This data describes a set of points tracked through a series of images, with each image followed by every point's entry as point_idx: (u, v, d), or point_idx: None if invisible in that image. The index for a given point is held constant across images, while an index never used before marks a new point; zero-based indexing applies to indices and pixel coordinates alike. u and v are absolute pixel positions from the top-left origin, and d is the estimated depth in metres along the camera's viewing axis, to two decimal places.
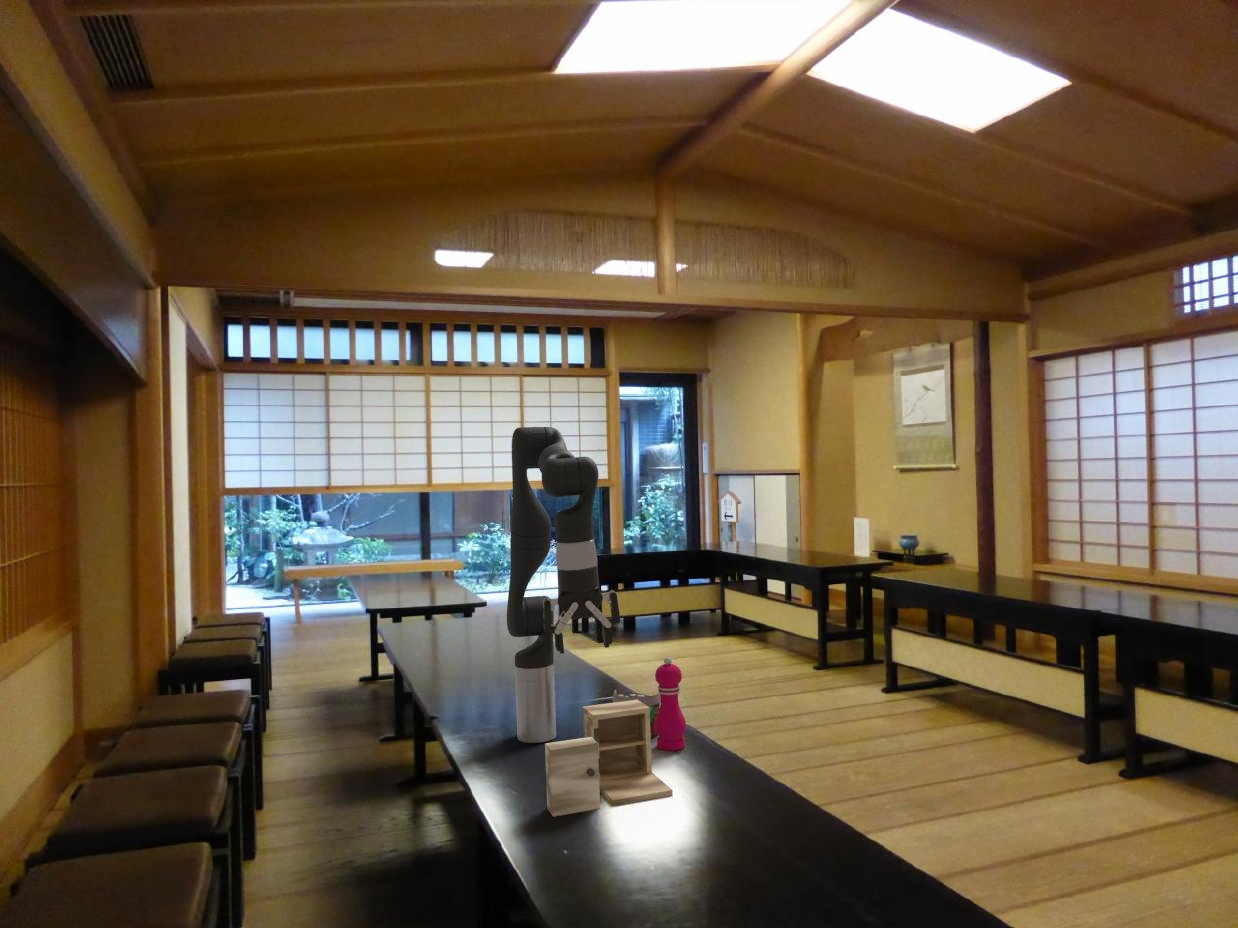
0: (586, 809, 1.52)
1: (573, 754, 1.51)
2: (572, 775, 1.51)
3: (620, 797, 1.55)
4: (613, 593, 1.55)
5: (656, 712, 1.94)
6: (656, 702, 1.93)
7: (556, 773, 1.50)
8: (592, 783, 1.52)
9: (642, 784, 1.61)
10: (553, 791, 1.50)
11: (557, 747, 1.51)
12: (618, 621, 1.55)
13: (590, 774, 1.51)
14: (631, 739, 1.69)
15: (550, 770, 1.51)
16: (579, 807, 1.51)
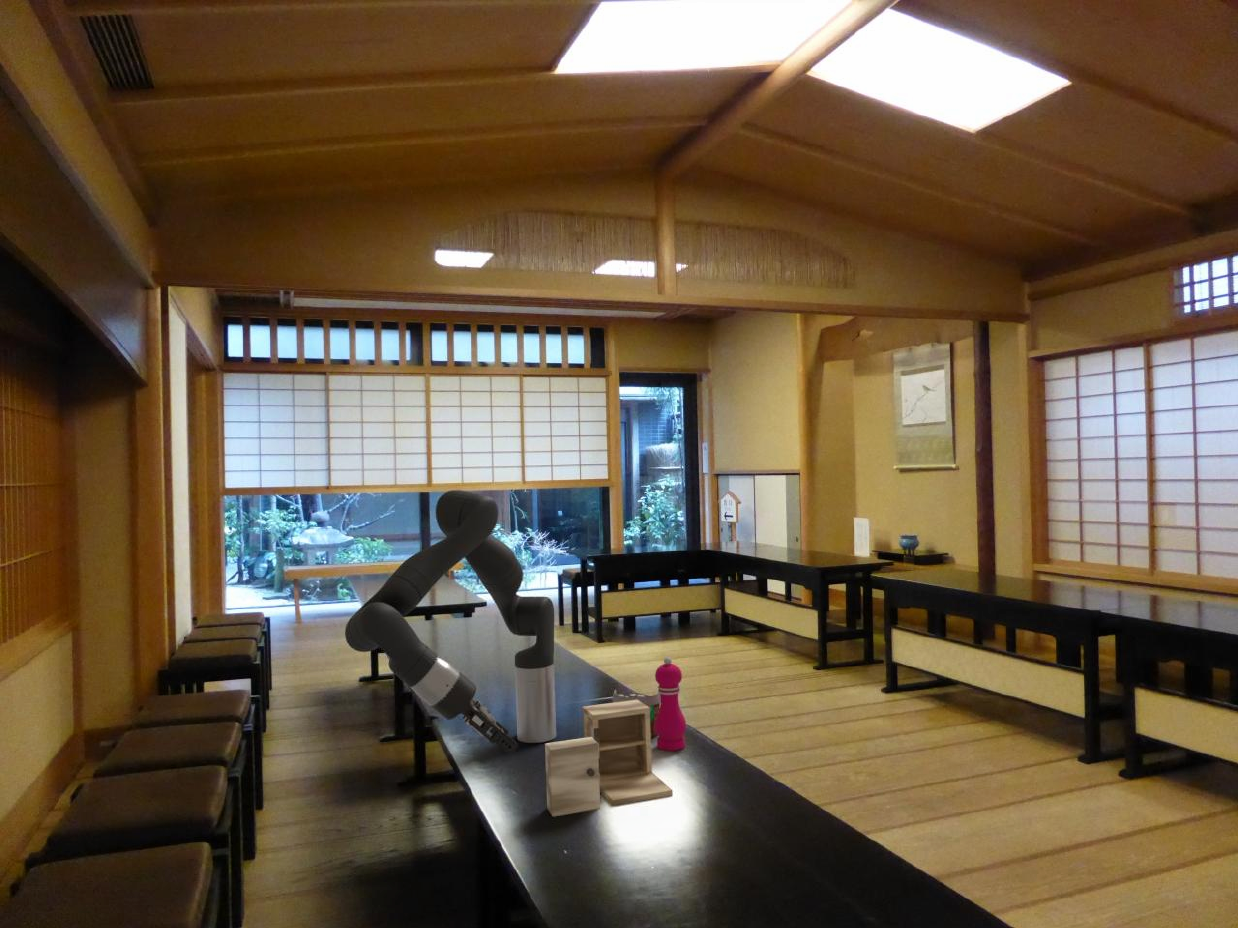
0: (586, 809, 1.52)
1: (573, 754, 1.51)
2: (572, 775, 1.51)
3: (620, 797, 1.55)
4: (469, 722, 1.41)
5: (656, 712, 1.94)
6: (656, 702, 1.93)
7: (556, 773, 1.50)
8: (592, 783, 1.52)
9: (642, 784, 1.61)
10: (553, 791, 1.50)
11: (557, 747, 1.51)
12: None
13: (590, 774, 1.51)
14: (631, 739, 1.69)
15: (550, 770, 1.51)
16: (579, 807, 1.51)
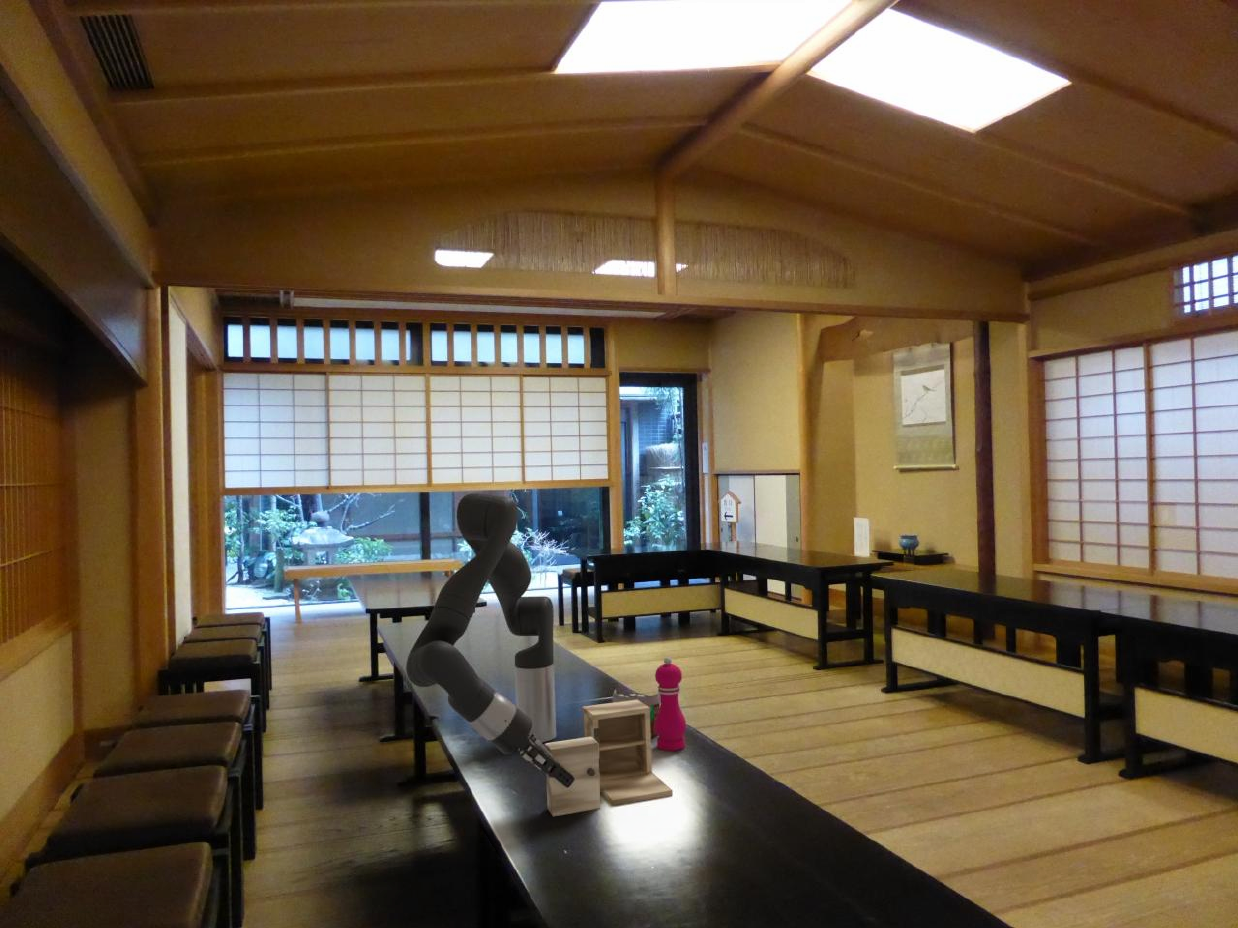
0: (586, 809, 1.52)
1: (573, 754, 1.51)
2: (572, 775, 1.51)
3: (620, 797, 1.55)
4: (532, 761, 1.45)
5: (656, 712, 1.94)
6: (656, 702, 1.93)
7: None
8: (592, 783, 1.52)
9: (642, 784, 1.61)
10: (553, 791, 1.50)
11: (557, 747, 1.51)
12: None
13: (590, 774, 1.51)
14: (631, 739, 1.69)
15: None
16: (579, 807, 1.51)
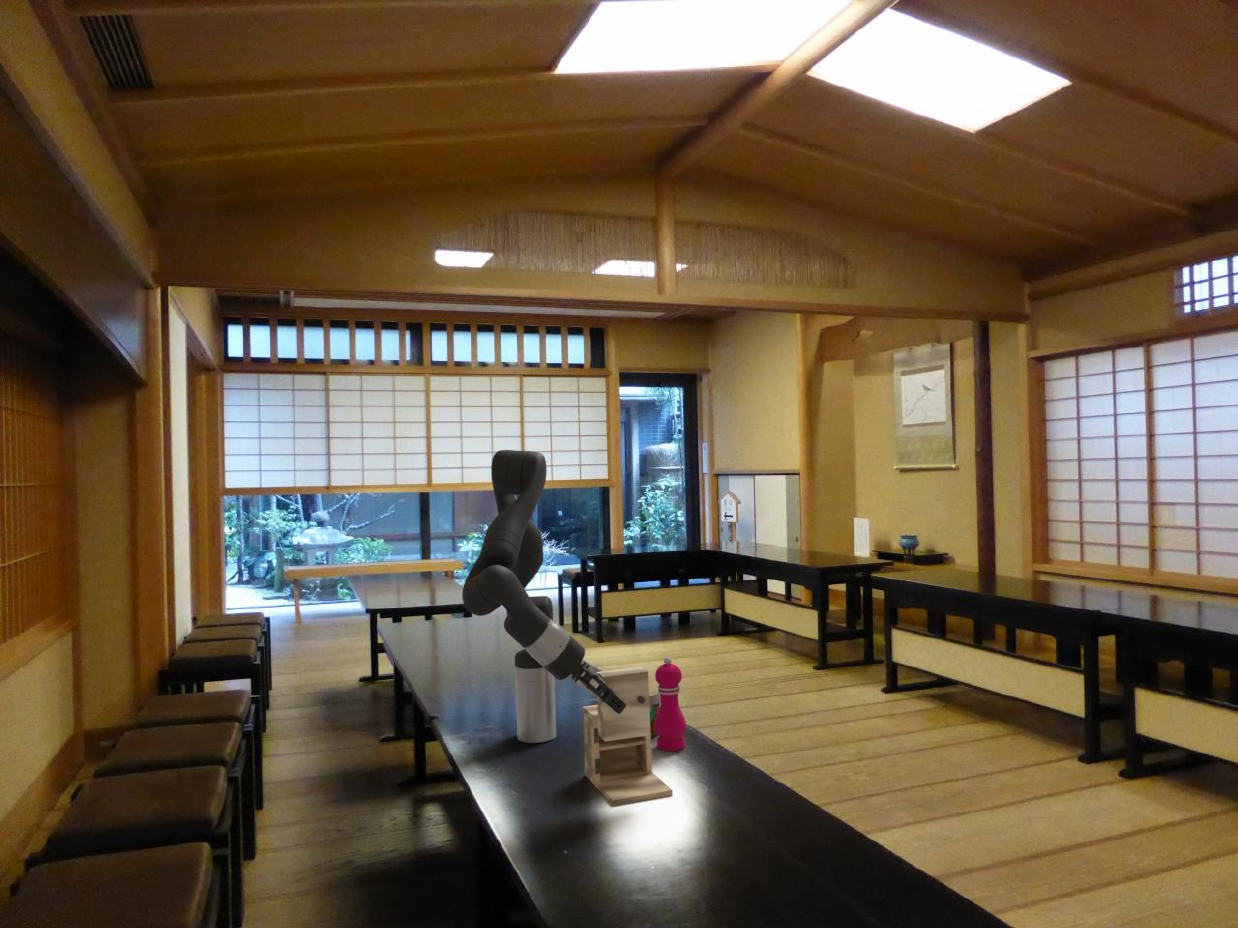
0: (637, 735, 1.56)
1: (624, 682, 1.55)
2: None
3: (620, 797, 1.55)
4: (586, 686, 1.48)
5: (656, 712, 1.94)
6: (656, 702, 1.93)
7: None
8: (642, 710, 1.56)
9: (642, 784, 1.61)
10: (605, 717, 1.54)
11: (609, 674, 1.55)
12: None
13: (641, 701, 1.55)
14: (631, 739, 1.69)
15: None
16: (630, 733, 1.55)
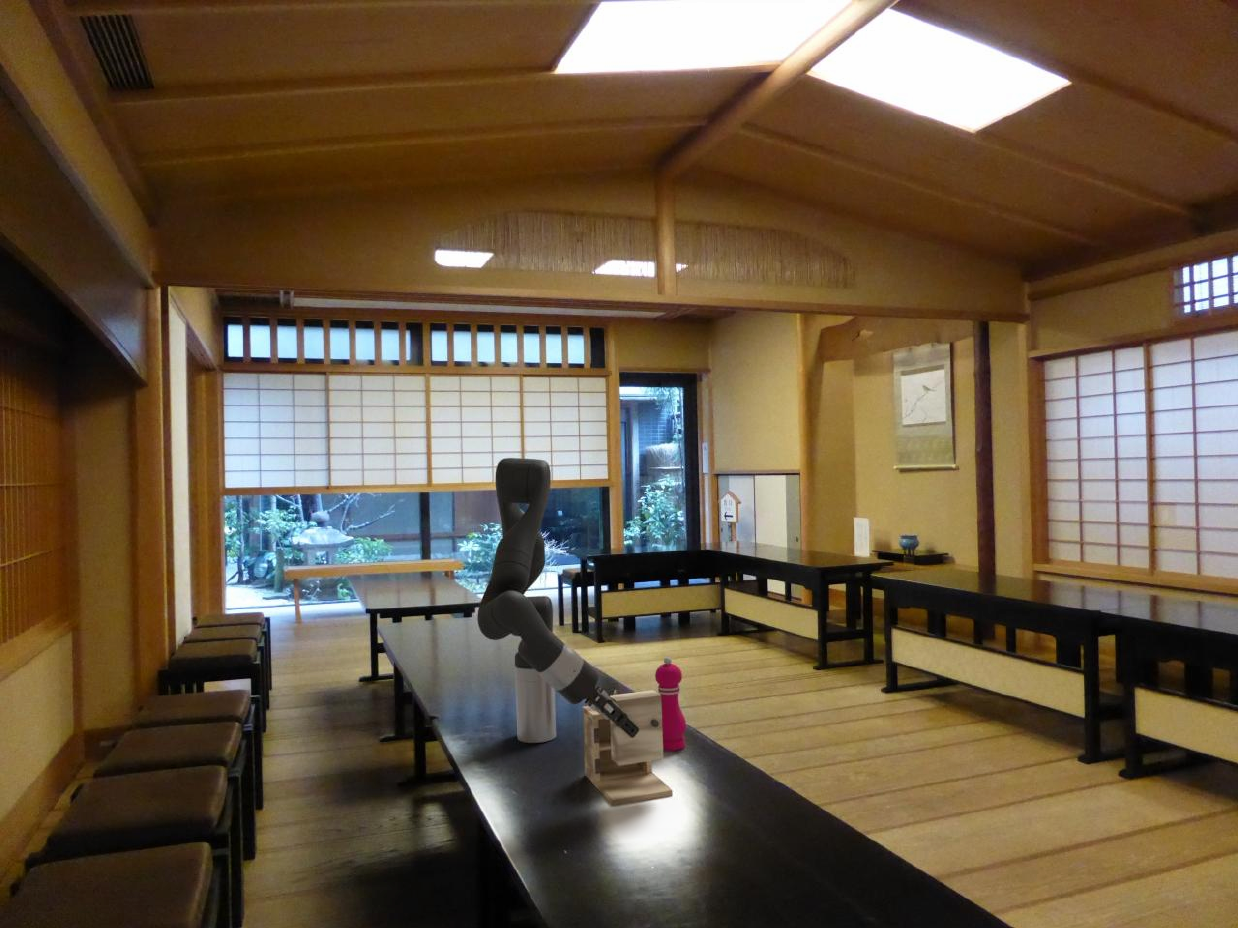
0: (650, 759, 1.56)
1: (637, 706, 1.56)
2: None
3: (620, 797, 1.55)
4: (601, 710, 1.49)
5: None
6: None
7: None
8: (656, 734, 1.57)
9: (642, 784, 1.61)
10: (619, 741, 1.54)
11: (622, 698, 1.56)
12: (618, 726, 1.51)
13: (654, 725, 1.56)
14: None
15: None
16: (643, 757, 1.56)
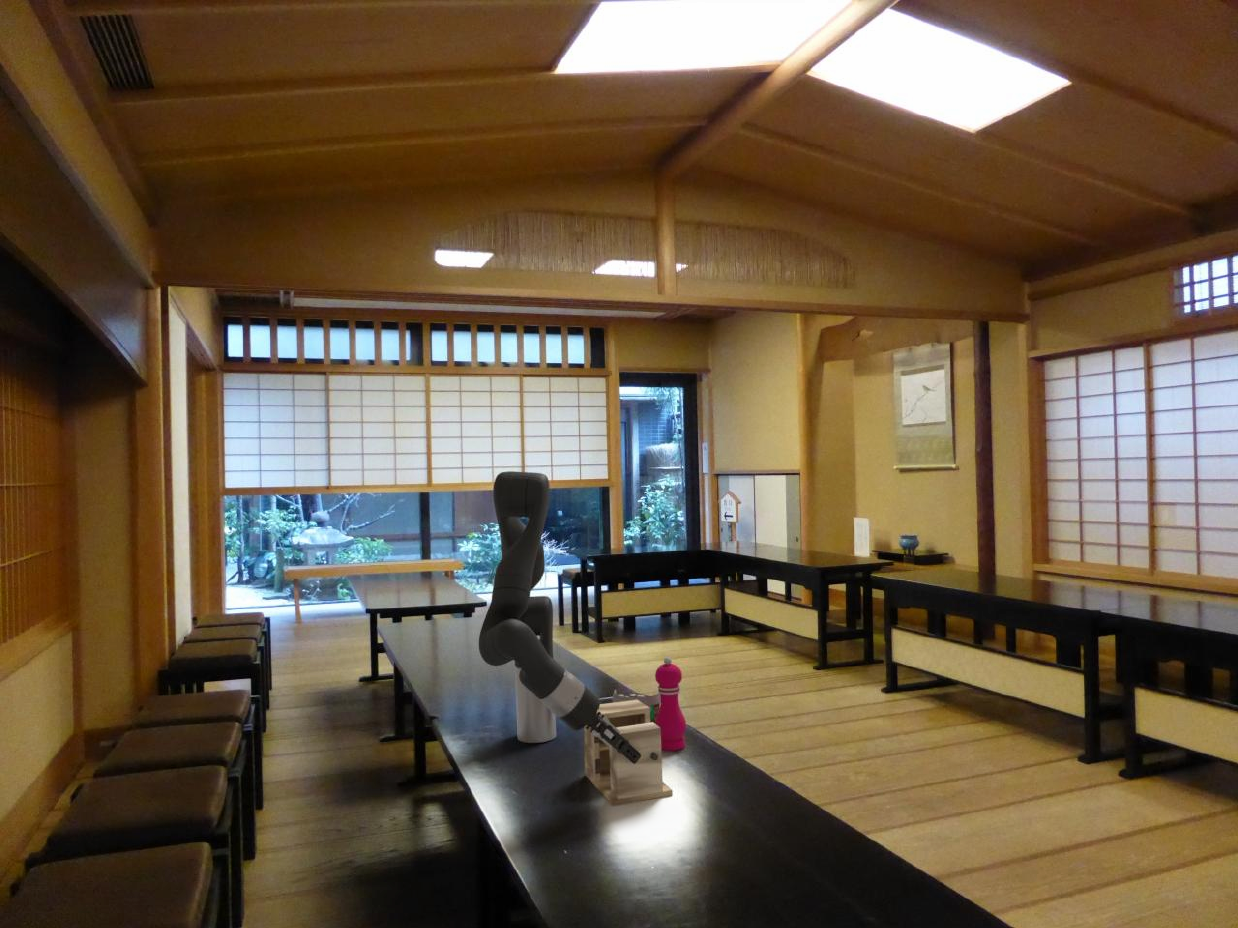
0: (650, 792, 1.56)
1: (637, 739, 1.56)
2: None
3: None
4: (601, 736, 1.49)
5: (656, 712, 1.94)
6: (656, 702, 1.93)
7: (621, 757, 1.54)
8: (655, 767, 1.57)
9: None
10: (618, 774, 1.54)
11: (622, 732, 1.55)
12: (619, 752, 1.51)
13: (654, 758, 1.56)
14: None
15: (615, 754, 1.55)
16: (643, 790, 1.56)
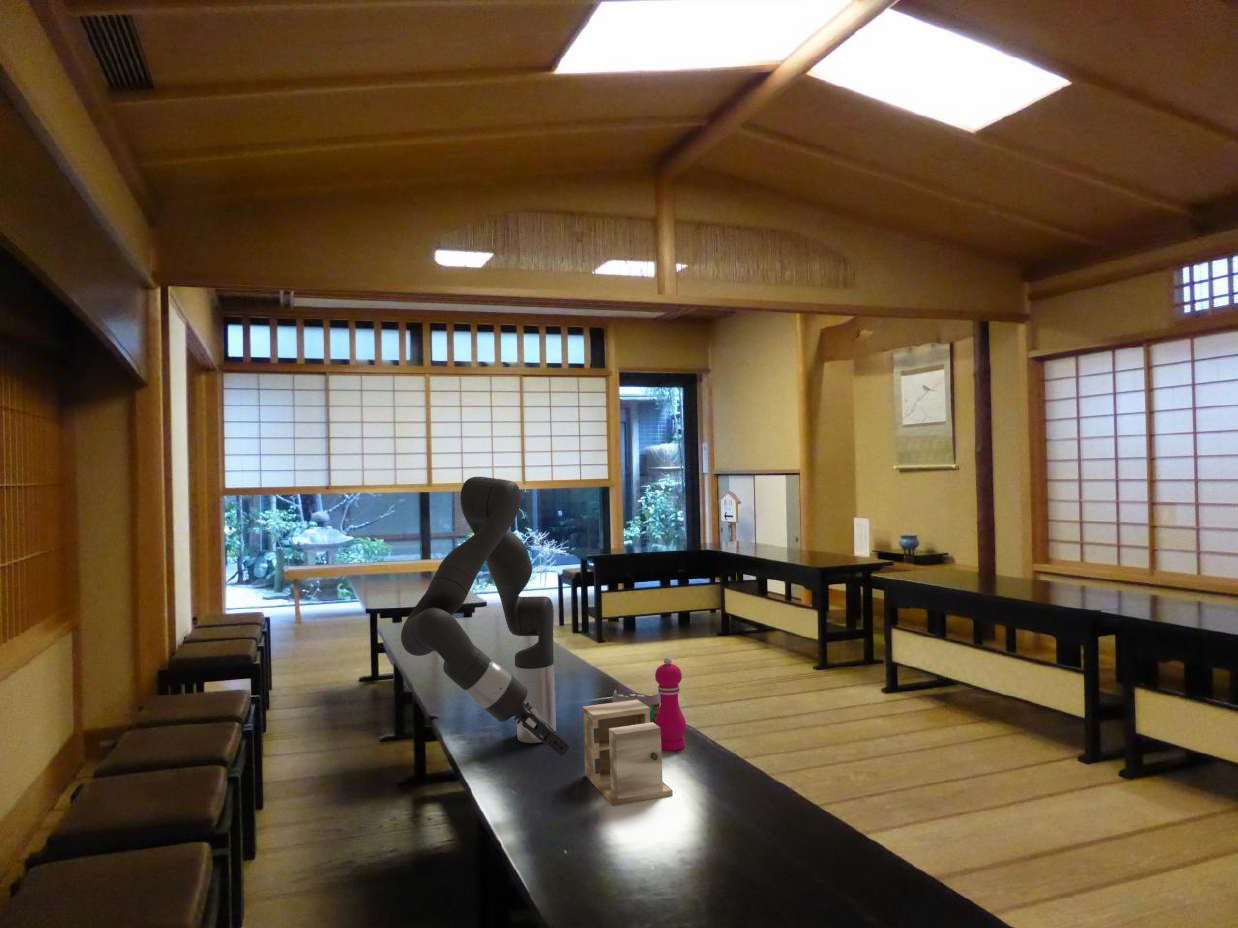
0: (650, 792, 1.56)
1: (637, 739, 1.56)
2: (636, 759, 1.55)
3: None
4: (522, 724, 1.45)
5: (656, 712, 1.94)
6: (656, 702, 1.93)
7: (621, 757, 1.54)
8: (655, 767, 1.57)
9: None
10: (618, 774, 1.54)
11: (622, 732, 1.55)
12: (545, 744, 1.46)
13: (654, 758, 1.56)
14: None
15: (615, 754, 1.55)
16: (643, 790, 1.56)
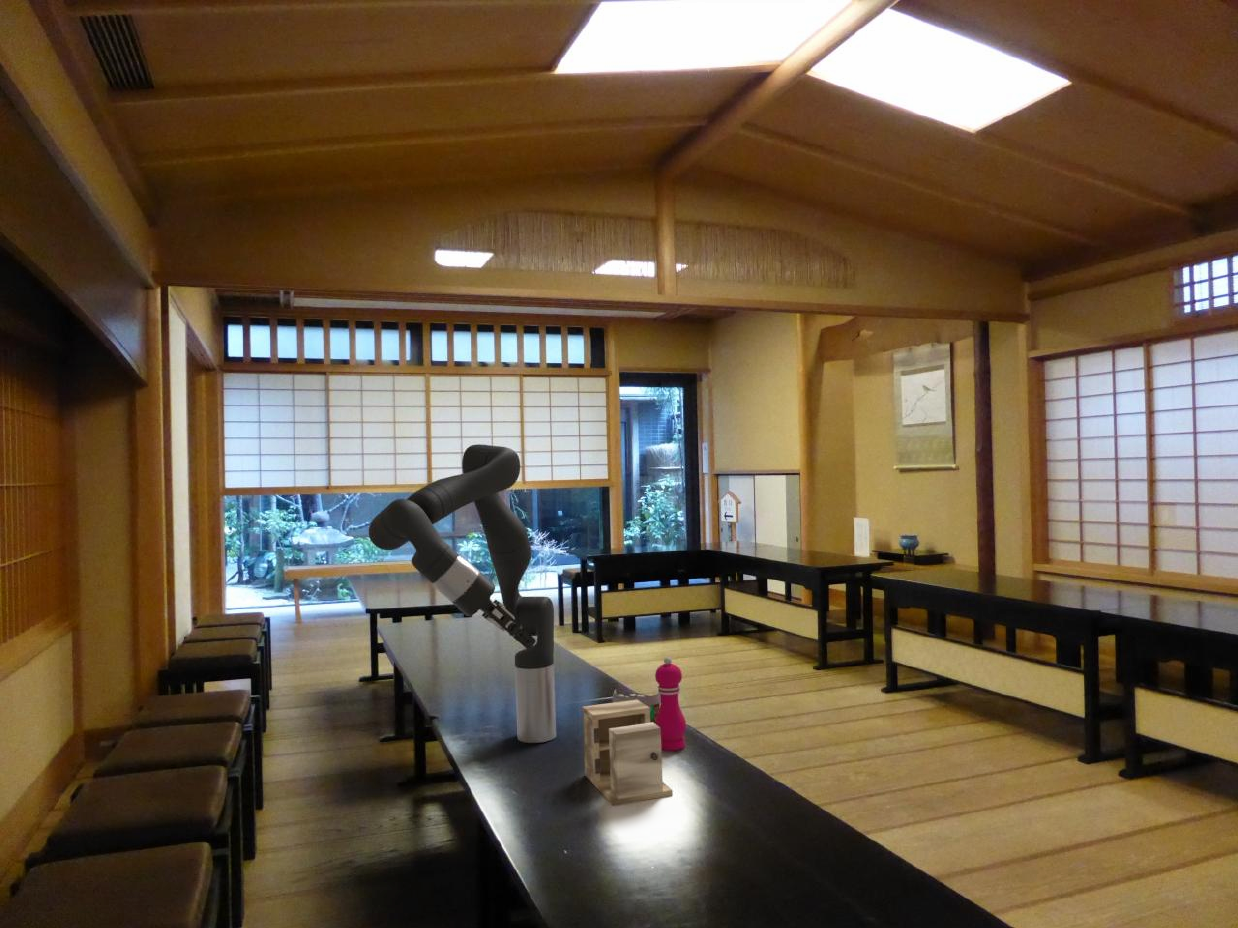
0: (650, 792, 1.56)
1: (637, 739, 1.56)
2: (636, 759, 1.55)
3: None
4: (489, 615, 1.47)
5: (656, 712, 1.94)
6: (656, 702, 1.93)
7: (621, 757, 1.54)
8: (655, 767, 1.57)
9: None
10: (618, 774, 1.54)
11: (622, 732, 1.55)
12: (511, 635, 1.48)
13: (654, 758, 1.56)
14: None
15: (615, 754, 1.55)
16: (643, 790, 1.56)
